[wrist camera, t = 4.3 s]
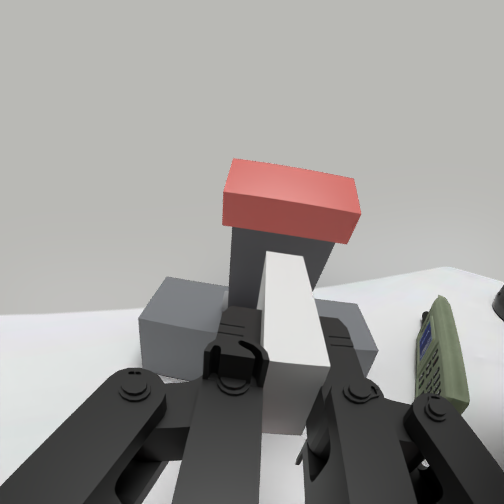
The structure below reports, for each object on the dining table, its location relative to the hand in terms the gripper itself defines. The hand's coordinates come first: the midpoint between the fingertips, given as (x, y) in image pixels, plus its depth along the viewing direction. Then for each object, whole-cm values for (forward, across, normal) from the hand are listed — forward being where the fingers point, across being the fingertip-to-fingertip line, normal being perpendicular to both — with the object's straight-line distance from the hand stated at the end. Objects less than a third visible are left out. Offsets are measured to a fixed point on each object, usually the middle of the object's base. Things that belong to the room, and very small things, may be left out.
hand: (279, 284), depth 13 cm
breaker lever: (+12, 0, -9) cm, 15 cm away
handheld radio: (+13, +21, -15) cm, 29 cm away
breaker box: (+12, 0, -15) cm, 19 cm away
